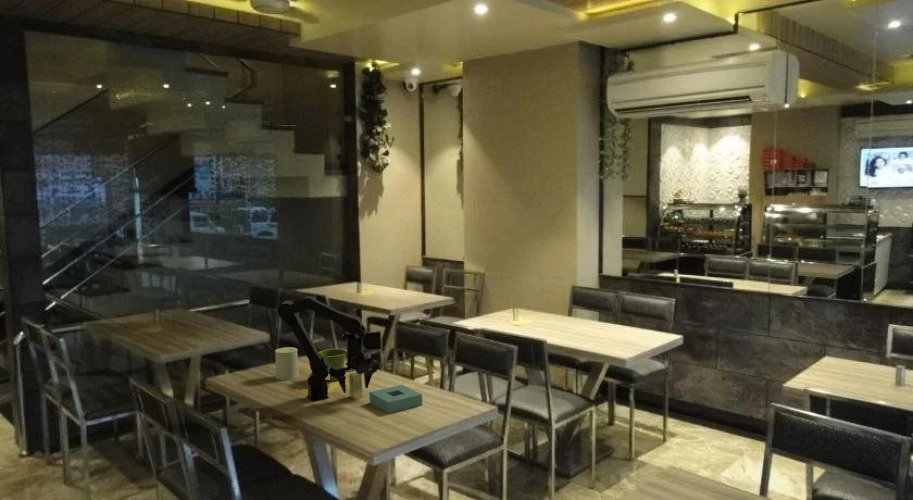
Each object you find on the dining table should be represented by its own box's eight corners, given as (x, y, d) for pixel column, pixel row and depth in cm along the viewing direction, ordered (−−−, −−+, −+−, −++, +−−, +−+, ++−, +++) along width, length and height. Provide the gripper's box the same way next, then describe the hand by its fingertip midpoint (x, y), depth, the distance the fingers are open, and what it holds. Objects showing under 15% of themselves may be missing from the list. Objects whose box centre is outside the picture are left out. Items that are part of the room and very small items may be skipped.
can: (295, 380, 267) (294, 351, 266) (273, 380, 268) (271, 351, 266) (301, 373, 277) (300, 345, 275) (279, 373, 277) (278, 346, 275)
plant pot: (314, 378, 269) (313, 351, 268) (339, 373, 276) (339, 347, 275) (326, 385, 260) (325, 357, 259) (353, 379, 267) (352, 352, 266)
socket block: (388, 413, 227) (388, 402, 227) (369, 402, 239) (369, 392, 238) (422, 405, 235) (422, 394, 235) (402, 395, 247) (402, 384, 246)
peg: (353, 399, 243) (353, 375, 242) (349, 396, 246) (349, 373, 245) (362, 397, 245) (361, 374, 244) (357, 394, 248) (357, 371, 247)
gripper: (341, 358, 231) (342, 401, 233) (386, 350, 242) (387, 390, 244) (327, 352, 240) (329, 393, 242) (372, 344, 251) (373, 383, 253)
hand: (355, 390), depth 245 cm, fingers open, 9 cm apart
